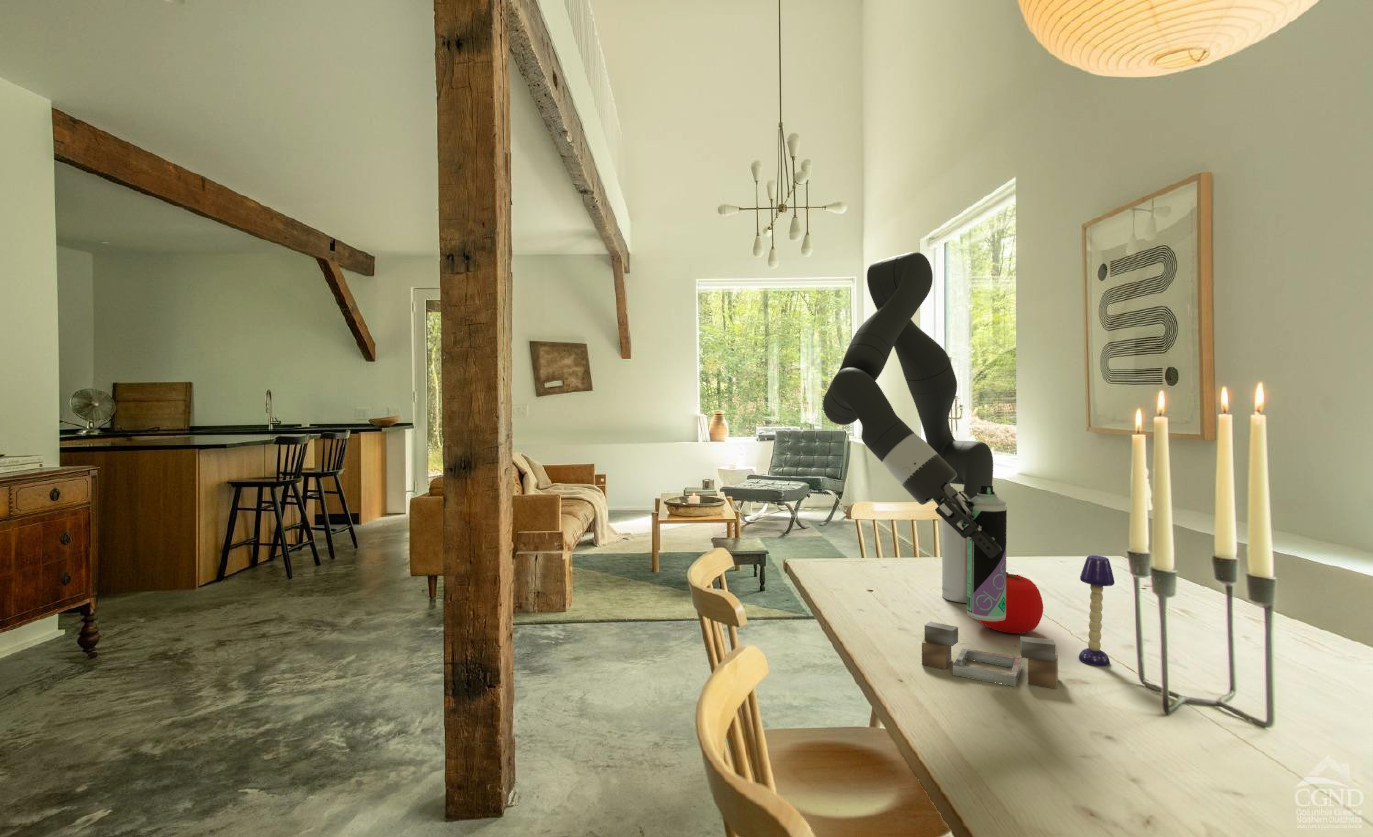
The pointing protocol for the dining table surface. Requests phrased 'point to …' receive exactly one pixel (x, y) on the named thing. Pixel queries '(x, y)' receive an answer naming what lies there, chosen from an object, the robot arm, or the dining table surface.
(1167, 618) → the dining table surface
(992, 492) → the spray can
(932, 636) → the stand
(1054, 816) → the dining table surface
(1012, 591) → the tomato
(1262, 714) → the dining table surface
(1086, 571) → the toy lamp
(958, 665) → the socket collar
